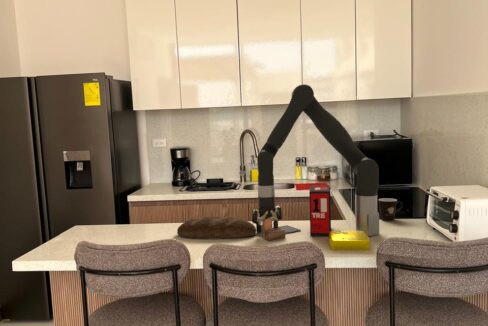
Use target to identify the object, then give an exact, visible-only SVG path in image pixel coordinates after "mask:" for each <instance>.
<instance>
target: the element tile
mask: <svg viewBox="0 0 488 326" xmlns="http://www.w3.org/2000/svg"><path fill="white" fill-rule="evenodd" d="M328 243H329V249H330V250H332V251H361V252H363V251H364V252H366V251H369V250H370V238H369V236H367V234H366V232H365V231H356V230H339V229H335V230H331V231H330V232H329V237H328Z"/></svg>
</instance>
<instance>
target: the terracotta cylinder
mask: <svg viewBox="0 0 488 326" xmlns="http://www.w3.org/2000/svg"><path fill="white" fill-rule="evenodd" d="M262 228H263V234H262V237H264V238H265V230H271V229H272V228H273V219H272V218H264V220H263V221H262Z"/></svg>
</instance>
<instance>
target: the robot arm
mask: <svg viewBox="0 0 488 326" xmlns="http://www.w3.org/2000/svg"><path fill="white" fill-rule="evenodd" d="M314 93H315V92H314V89H313V88H312V86H311V85H308V84H305V83H302V84H299V85H296V87H295V88H293V90H292V92H291V98H290V101H289V103H288V105H287V107H286V109H285V111H284V113H283V114H282V116H281V117H280V119H278V121H277V123H276V124H275V126H274V127H273V129H272V130H271V132H270V134H269V136H268V137H267V139H266V142H265V143H264V145H263V146H261V149H260V150H259V152H258V154H257V157H256V160H257V161H256V163H257V173H258V174H257V205H258V208H257V209H252V211H251V223H252V224H255V225H256V226H255V228H256V233H257V232H258V233H257V234H259V233H261V222H262V221H263V220H264V218H272V228H273V229H277V228H278V227H279V221H281V220H282V219H283V214H282V213H283V212H282V206H279V205H276V192H275V191H276V190H275V176H274V158H275V157H276V155H277V153H278V152H279V150H280V149H281V148H282V146H283V145H284V143H285V141H286V140H287V138H288V137H289V134H290V133H291V131H292V129H293V127H294V125H295V124H296V122H297V120H298V119H299V117H300V116H301V115H302V113H304V114H305V115H307V117H308V118H309V119H310V120H311V122H312V123H313V125H314V126H315V128H316V129H317V131H318V132H319V133H320V134H321V135H322V137H323V138H324V139H325V140H326V142H327V143H329V145H331V147H332V148H333V149H335V151H336V152H337V153H338V154H340V155H341V156H342V157H343V158H344V159H345V161H346V162H347V164H348V165H349V167H350V168H351V169H352V170H353V173H354V174H355V175H356V187H355V189H354V191H355V194H354V195H355V196H354V197H355V198H354V199H355V200H354V202H355V204H354V205H355V207H354V208H355V209H354V211H355V212H354V213H355V231H365V232H366V234H367V236H368V237H371V236H373V237H374V236H377V235H380V212H378V189H379V183H380V181H379V180H380V179H379V177H380V173H379V171H380V170H379V165H378V163H377V162H376V160H374V159H371V158H369V157H367V156H366V155H365V153H363V152H362V151H361V150H360V149H359V148H358V147H357V145H356V144H355V142H354V140H353V138H352V136H351V134H350V133H349V131H348V130H347V129H346V128H345V127H344V126H343V124H342V123H341V122H340V120H338V119H337V118H336V117H335V116H334V115H333V114H331V113H330V112H329V111H328V110H326V108H325V107H323V105H321V103H320V102H319V101H318V99H317V98H316V97H315V94H314ZM275 212H276V214H275Z"/></svg>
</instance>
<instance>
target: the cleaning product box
mask: <svg viewBox="0 0 488 326" xmlns="http://www.w3.org/2000/svg"><path fill="white" fill-rule="evenodd" d="M308 196H309V227H310V228H309V229H310V230H309V231H310V233H309V234H310V237H311V236H312V237H314V238H329V232H330V231H332V223H331V222H332V210H331V209H332V207H331V205H332V204H331V202H332V201H331V200H332V199H331V185H310V188H309V194H308Z"/></svg>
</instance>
